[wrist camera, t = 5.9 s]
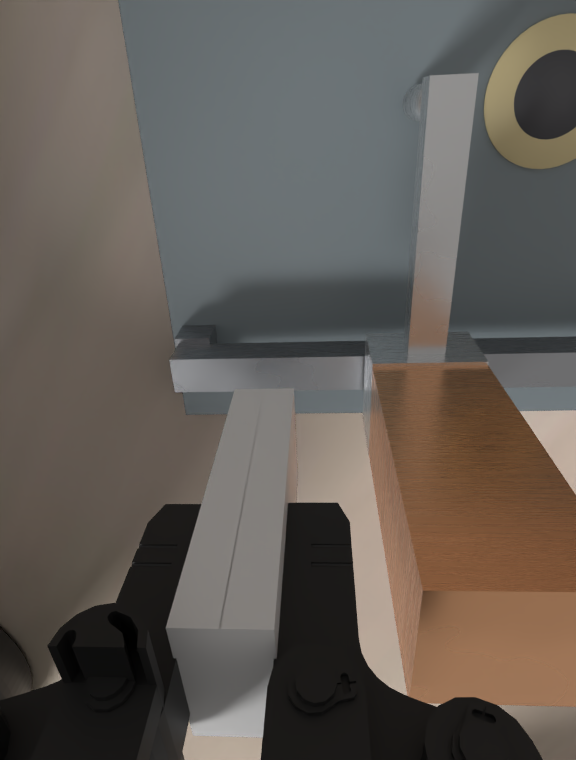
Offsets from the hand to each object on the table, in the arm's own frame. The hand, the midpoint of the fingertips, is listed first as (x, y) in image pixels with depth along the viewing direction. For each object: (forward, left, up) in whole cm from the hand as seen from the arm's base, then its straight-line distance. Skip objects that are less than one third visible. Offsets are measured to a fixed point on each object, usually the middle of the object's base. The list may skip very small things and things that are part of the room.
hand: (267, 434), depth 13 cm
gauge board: (+11, +4, -7) cm, 14 cm away
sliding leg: (+4, +3, -6) cm, 8 cm away
